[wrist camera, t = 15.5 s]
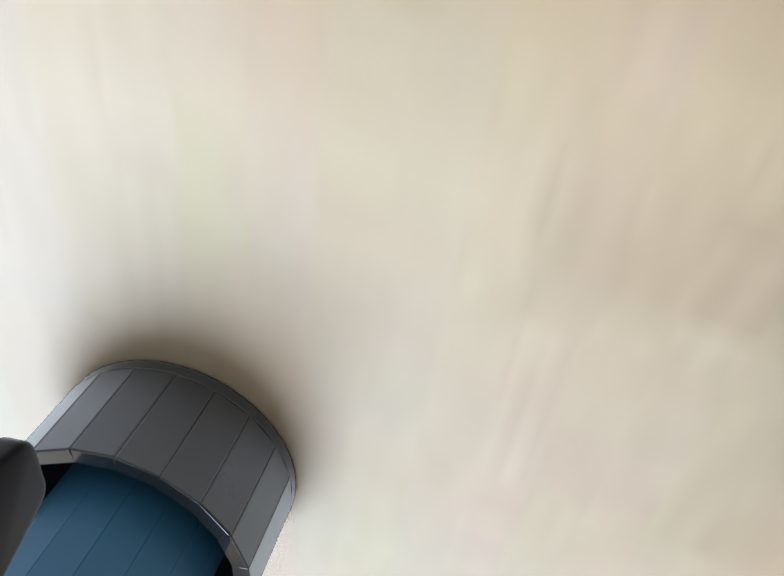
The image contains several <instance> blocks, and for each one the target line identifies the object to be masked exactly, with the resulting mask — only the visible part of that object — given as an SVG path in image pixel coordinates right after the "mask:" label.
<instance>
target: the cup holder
mask: <svg viewBox="0 0 784 576" xmlns="http://www.w3.org/2000/svg"><path fill="white" fill-rule="evenodd" d="M26 441H27V442H30V443H31V444H32V445H33V447H34V449H35V451H36V454H37V457H38V461H39V464H40V467H41V470H42V473H43V476H44V479H45V483H46V490H45V495H44V498H43V500H44V499H45V498H46V497H47V495H48V494H49V493H50V492H51V490H52V489H53V488H54V487H55V485H56V484H57V483H58V482H59V480H60V479H61V478H62V477H63V475H64V474H65V473H66V472H67V470H68V469H69V468H70V467H71V465H72V464H73V463H80V464H85V465H90V466H95V467H100V468H105V469H110V470H115V471H117V472H120V473H122V474H125V475H127V476H129V477H132V478H134V479H136V480H139V481H141V482H143V483H146V484H148V485H151V486H153V487H155V488H156V489H158V490H159V491H161V492H162V493H164V494H165V495H167V496H168V497H170V498H171V499H173V500H174V501H176V502H177V503H179V504H180V505H182V506H183V507H184V508H186V509H187V510H189V511H190V512H191V513H192V514H193V515H194V516H195V517H196V518H197V519H198V520H199V521H200V522H201V523H202V524H203V525H204V526H205V527H206V528H207V529H208V530H209V531H210V532H211V533H212V535H213V536H214V537H215V538H216V539H217V541H218V543H219V544H220V546H221V548H222V550H223V552H224V553H225V554H224V556H223V558H222V560H221V562H220V564H219V566H218V568H217V570H216V572H215V574H214V576H262V574H263V572H264V569H265V567H266V565H267V562H268V560H269V558H270V555H271V553H272V551H273V548H274V546H275V544H276V542H277V539H278V537H279V535H280V532H281V530H282V528H283V525H284V523H285V520H286V518H287V516H288V513H289V511H290V509H291V506H292V504H293V500H294V496H295V486H296V480H295V473H294V467H293V464H292V461H291V457H290V455H289V453H288V451H287V448H286V446H285V444H284V442H283V441H282V439H281V438H280V436H279V435H278V433H277V431H276V430H275V429H274V428H273V426H272V425H271V424H270V423H269V421H268V420H267V419H266V418H265V417H264V416H263V415H262V414H261V413H260V412H259V411H258V410H257V409H256V408H255V407H254V406H253V405H252V404H250V403H249V402H248V401H247V400H245V399H244V398H243V397H242V396H240V395H239V394H237V393H236V392H235V391H233V390H232V389H230V388H229V387H227V386H225V385H223V384H222V383H220V382H218V381H216V380H214V379H213V378H211V377H208V376H206V375H204V374H201V373H199V372H197V371H194V370H191V369H188V368H185V367H182V366H178V365H174V364H169V363H165V362H158V361H149V360H131V361H124V362H117V363H114V364H110V365H107V366H104V367H102V368H100V369H98V370H96V371H94V372H92V373H91V374H89V375H88V376H87V377H85V378H84V379H83V380H82V381H81V382H80V383H79V384H78V385H76V386H75V387H74V388H73V389H72V390H71V391H70V392H69V393H68V394H67V396H66V397H65V398H64V399H63V400H62V401H61V402H60V403H59V404H58V405H57V407H56V408H55V409H54V410H53V411H52V412H51V413H50V414H49V415H48V416H47V418H46V419H45V420H44V421H43V422H42V423H41V424H40V425H39V426H38V427H37V429H36V430H35V431H34V432H33V433H32V434H31V435H30V436H29V437H28V438H27V440H26ZM42 502H43V501H42Z"/></svg>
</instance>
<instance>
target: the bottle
mask: <svg viewBox="0 0 784 576" xmlns="http://www.w3.org/2000/svg"><path fill="white" fill-rule="evenodd" d="M224 554H225V553H224V552H223V550H222V548H221V546H220V544H219V543H218V541H217V539H216V538H215V537H214V536H213V535H212V533H211V532H210V531H209V530H208V529H207V528H206V527H205V526H204V525H203V524H202V523H201V522H200V521H199V520H198V519H197V518H196V517H195V516H194V515H193V514H192V513H191V512H190V511H189V510H187V509H186V508H184V507H183V506H182V505H180V504H179V503H177V502H176V501H174V500H173V499H171V498H170V497H168V496H167V495H165V494H164V493H162V492H161V491H159V490H158V489H156V488H155V487H153V486H151V485H148V484H146V483H143V482H141V481H139V480H136V479H134V478H132V477H129V476H127V475H125V474H122V473H120V472H117V471H115V470H110V469H105V468H100V467H95V466H90V465H85V464H80V463H73V464H72V465H71V467H70V468H69V469H68V470H67V472H66V473H65V474H64V475H63V477H62V478H61V479H60V480H59V482H58V483H57V484H56V485H55V487H54V488H53V489H52V490H51V492H50V493H49V494H48V495H47V497H46V498H45V499H44V500H43V502H42V503H41V505H40V507H39V509H38V511H37V513H36V515H35V517H34V519H33V521H32V523H31V524H30V526H29V528H28V530H27V532H26V534H25V536H24V538H23V540H22V542H21V544H20V546H19V548H18V549H17V551H16V553H15V555H14V557H13V559H12V561H11V563H10V565H9V567H8V569H7V571H6V573H5V575H4V576H214V574H215V572H216V570H217V568H218V566H219V564H220V562H221V560H222V558H223V556H224Z"/></svg>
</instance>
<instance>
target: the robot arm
mask: <svg viewBox="0 0 784 576" xmlns="http://www.w3.org/2000/svg"><path fill="white" fill-rule="evenodd" d="M45 490H46V483H45V479H44V476H43V473H42V470H41V467H40V464H39V461H38V457H37V454H36V451H35V449H34V447H33V445H32V444H31V443H30V442H27V441H23V440H18V439H13V438H7V437H3V438H0V576H4V575H5V573H6V571H7V569H8V567H9V565H10V563H11V561H12V559H13V557H14V555H15V553H16V551H17V549H18V548H19V546H20V544H21V542H22V540H23V538H24V536H25V534H26V532H27V530H28V528H29V526H30V524H31V523H32V521H33V519H34V517H35V515H36V513H37V511H38V509H39V507H40V505H41V503H42V501H43V498H44V495H45Z"/></svg>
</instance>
